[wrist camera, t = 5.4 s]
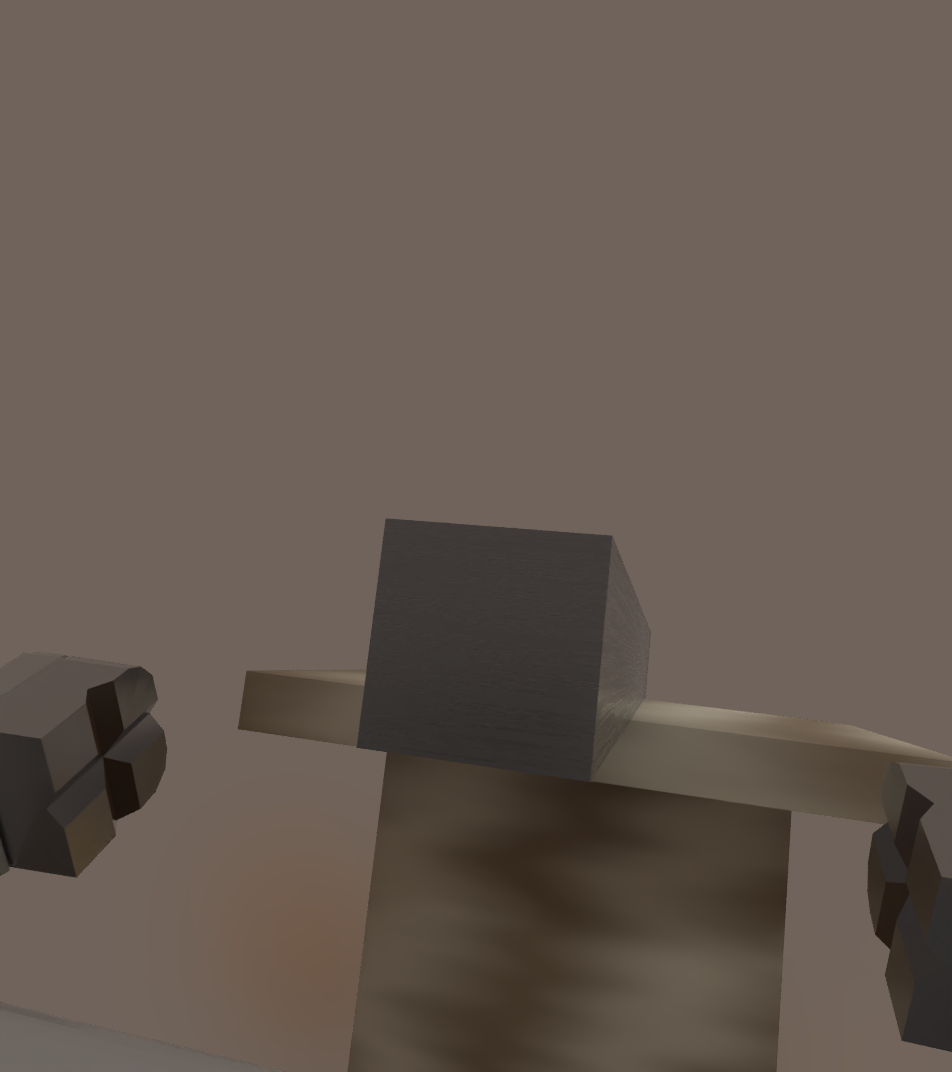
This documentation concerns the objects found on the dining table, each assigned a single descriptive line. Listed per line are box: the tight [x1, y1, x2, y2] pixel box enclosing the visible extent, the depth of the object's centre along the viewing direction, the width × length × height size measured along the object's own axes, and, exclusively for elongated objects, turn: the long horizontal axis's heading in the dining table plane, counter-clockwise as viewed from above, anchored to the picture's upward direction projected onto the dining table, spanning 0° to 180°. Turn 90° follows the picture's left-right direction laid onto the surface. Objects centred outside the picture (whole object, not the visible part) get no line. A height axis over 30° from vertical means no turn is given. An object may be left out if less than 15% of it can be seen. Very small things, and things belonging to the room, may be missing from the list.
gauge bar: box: [357, 519, 651, 782], centre depth 20 cm, size 24×2×2 cm, turn 167°
